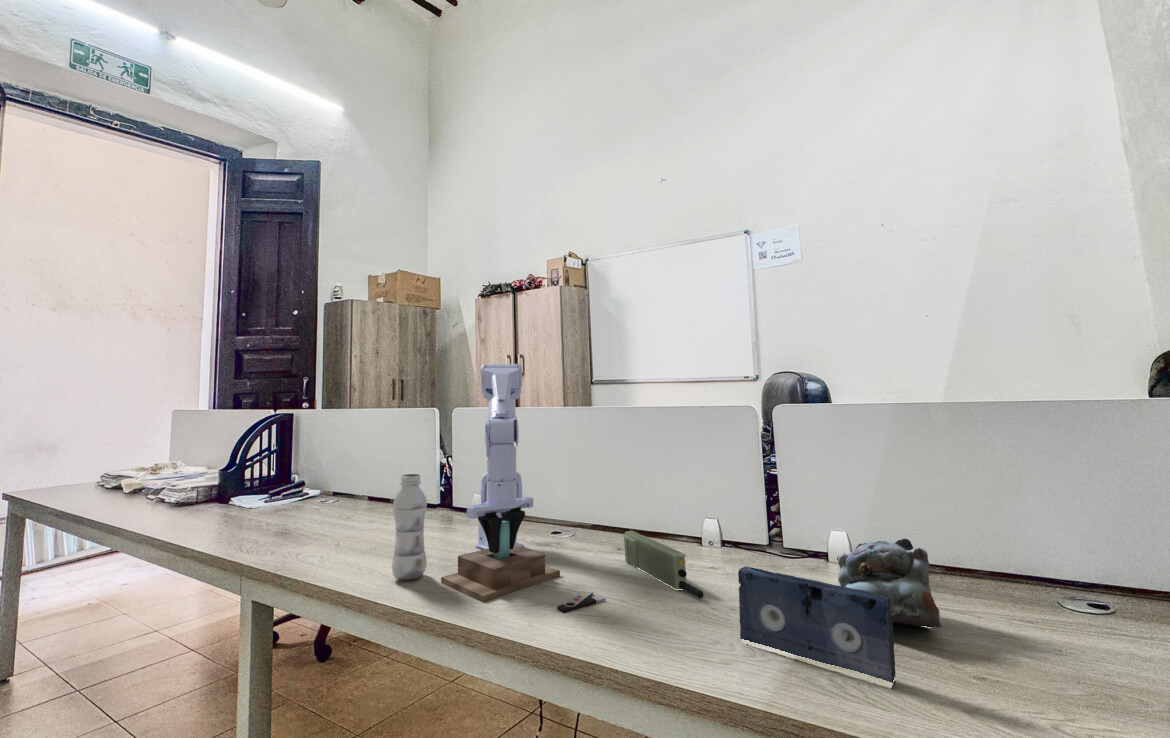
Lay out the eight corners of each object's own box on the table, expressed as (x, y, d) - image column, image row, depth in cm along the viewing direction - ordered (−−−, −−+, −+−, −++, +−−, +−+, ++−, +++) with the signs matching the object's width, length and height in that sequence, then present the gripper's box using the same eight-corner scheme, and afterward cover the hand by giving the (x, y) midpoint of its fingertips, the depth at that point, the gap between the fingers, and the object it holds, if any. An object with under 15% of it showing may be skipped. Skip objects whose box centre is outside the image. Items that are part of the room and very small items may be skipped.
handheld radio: (636, 561, 106) (710, 600, 84) (623, 563, 105) (694, 605, 82) (635, 529, 107) (707, 560, 84) (621, 532, 106) (691, 564, 83)
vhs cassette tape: (897, 682, 58) (892, 595, 59) (892, 693, 56) (887, 602, 57) (748, 636, 70) (745, 564, 71) (739, 643, 68) (736, 569, 69)
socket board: (441, 582, 94) (441, 558, 94) (516, 561, 106) (516, 539, 107) (482, 601, 84) (482, 574, 84) (560, 575, 97) (559, 552, 97)
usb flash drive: (563, 615, 79) (563, 609, 79) (547, 605, 83) (547, 599, 83) (606, 603, 84) (606, 597, 84) (589, 594, 88) (589, 588, 88)
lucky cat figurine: (813, 618, 76) (810, 527, 83) (863, 635, 80) (856, 548, 87) (914, 622, 64) (900, 516, 71) (966, 642, 68) (948, 541, 75)
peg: (491, 564, 95) (491, 522, 96) (504, 561, 97) (504, 520, 98) (499, 568, 93) (499, 525, 94) (512, 564, 95) (512, 522, 96)
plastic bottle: (431, 572, 99) (433, 472, 101) (417, 584, 93) (419, 477, 94) (401, 572, 100) (403, 472, 102) (384, 583, 93) (387, 477, 95)
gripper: (481, 485, 89) (481, 563, 88) (542, 477, 99) (543, 546, 98) (461, 482, 94) (460, 555, 93) (521, 474, 104) (521, 540, 103)
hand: (501, 550), depth 96 cm, fingers closed on peg, 3 cm apart
